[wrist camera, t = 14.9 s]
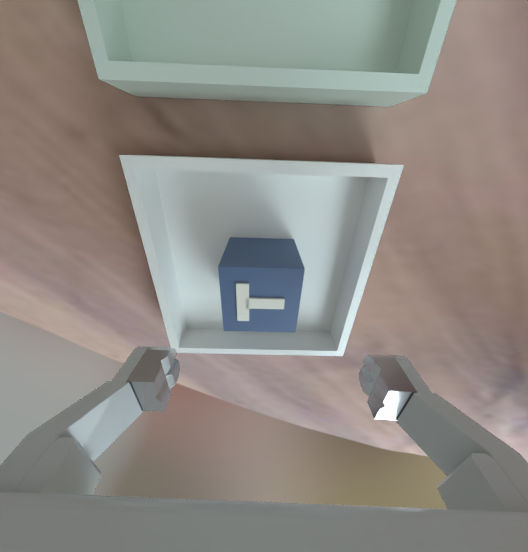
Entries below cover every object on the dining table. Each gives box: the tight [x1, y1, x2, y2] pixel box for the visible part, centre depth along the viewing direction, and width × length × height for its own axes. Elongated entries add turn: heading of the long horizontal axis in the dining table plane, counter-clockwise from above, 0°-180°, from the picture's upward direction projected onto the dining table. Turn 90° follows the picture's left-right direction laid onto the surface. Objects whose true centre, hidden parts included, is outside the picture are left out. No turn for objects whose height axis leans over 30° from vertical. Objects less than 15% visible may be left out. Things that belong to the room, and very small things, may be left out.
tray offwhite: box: [119, 155, 404, 356], centre depth 15 cm, size 14×14×3 cm
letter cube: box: [218, 237, 305, 332], centre depth 14 cm, size 4×4×5 cm
